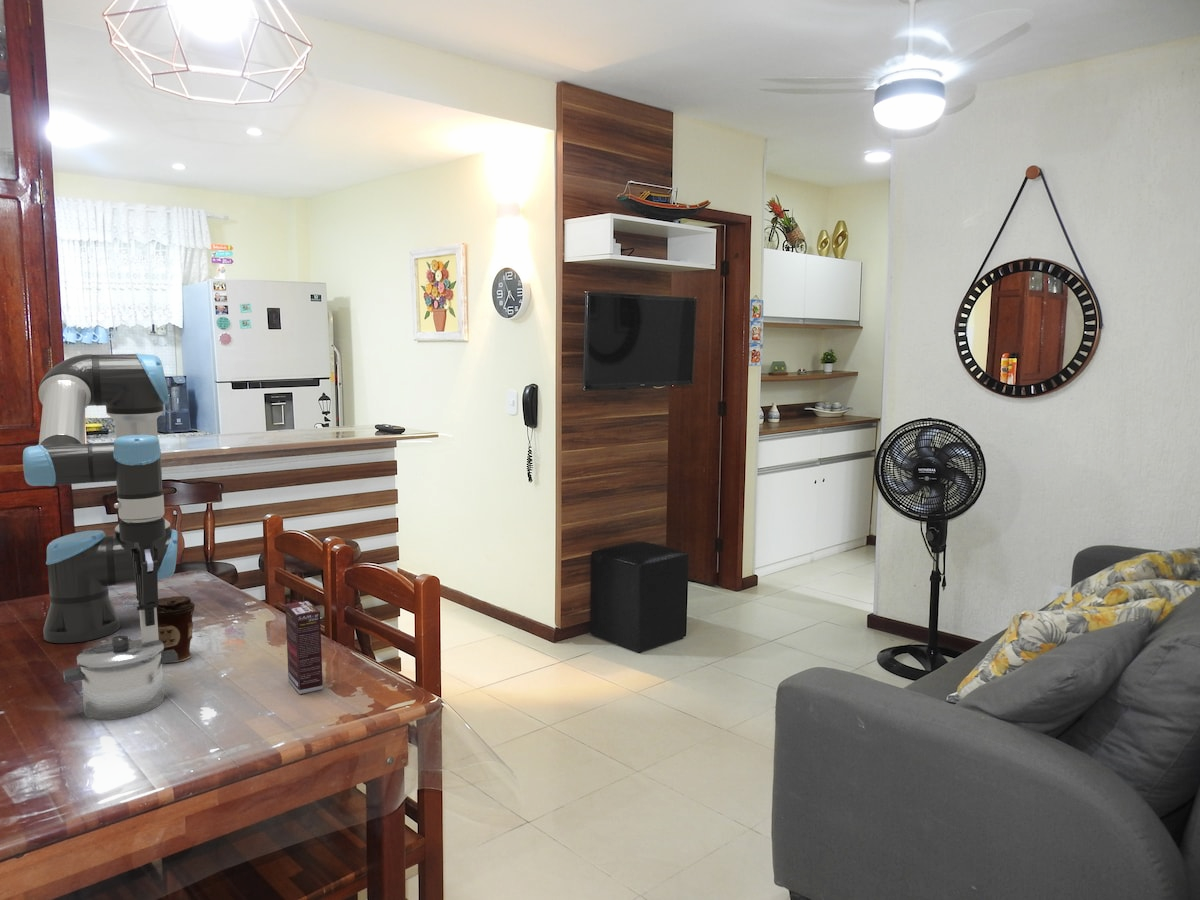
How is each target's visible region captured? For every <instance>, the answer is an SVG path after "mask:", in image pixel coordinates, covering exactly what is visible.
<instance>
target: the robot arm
mask: <svg viewBox="0 0 1200 900" xmlns="http://www.w3.org/2000/svg"><path fill="white" fill-rule="evenodd" d="M164 371H165V370H164V367H163V363H162V360H161V359H160V357H158V356H157V355H155V354H147V353H146V354H143V353H142V354H141V353H120V354H119V353H115V354H114V353H113V354H112V353H109V354H108V353H107V354H102V353H101V354H92V353H91V354H90V353H89V354H85V353H84V354H79V355H75V356H73V357H69V358H67V359H64V360H62V361H61V362H59V363H57V364H55V366H53V367H51V369H49V370H48V372H47V373H45V374H44V376H43V378H42V379H41V381H40V383H39V387H38V394H37V395H38V400H39V403H40V404H41V405H42V410H41V411H42V412H41V419H40V420H41V421H40V430H39V431H40V432H39V440H38V444H37V445H30V446H27V447H25V448H24V449H23V453H22V466H23V475H24V476H23V477H24V480H25V483H26V484H27V485H29V486H31V487H42V486H44V487H46V486H47V487H54V486H63V485H76V484H77V485H78V484H90V483H91V484H92V483H93V484H94V483H107V482H108V483H109V482H115V483H116V491H117V493H116V496H117V501H118V502H116V503H114V504H113V507H114V508H115V509H118V510H117V512H118V518H119V519H121V520H120V521H119V522H118V524H117V525H116V526H115V527H114V532H115V535H107V536H106V533H105V531H104V530H101V529H95V530H93V529H92V530H83V531H80V532H79V531H77V532H74V533H69V534H65V535H63V536H60V537H57V538H56V539H53V540H51V541H50V542H49V543H48V545H47V547H46V562H45V565H47V577H48V589H49V590H48V591H49V601H50V602H49V608H48V612H47V614H46V619H45V622H44V626H43V632H42V633H43V640H45V641H46V642H49V643H52V644H53V643H54V644H55V643H56V644H72V643H80V642H81V643H82V642H87V641H93V640H96V639H100V638H104V637H106V636H109V635H111V634H114V633H115V632H117V631H119V629H120V627H121V625H120V617H119V615H118V612H117V611H116V610H117V609H115V606H114V604H113V602H112V600H111V598H110V593H109V591H110V590H109V586H110V587H111V586H119V585H125V584H135V589H136V590H135V591H136V601H137V604H138V605H137V606H136V610H137V611H139V612H138V613H139V624H140V639H141V641H142V643H145V642H150V641H156V640H159V637H158V622H157V607H158V604H159V602H158V599H159V588H158V587H159V581H158V580H164V579H169V578H171V577H172V576H173V575H174V573H175V571H176V565H177V556H178V541H179V540H178V539H179V536H178V534H179V533H178V530H176V529H173V528H172V529H171V522H169V521H168V520H167V519H165V518H164V517H163V516H164V515H165V513H166V512H165V498H164V497H165V496H164V492H163V479H162V478H163V475H162V474H163V473H162V451H161V450H162V449H161V446H160V445H161V444H160V440H159V437H158V434H159V433H158V421H157V420H158V417H160V416H161V415H162V414H163V413H164V405H165V406H166V405H168V404H169V403H170V396H169V390H168V385H167V379H166V377H165V372H164ZM89 406H91V407H92V406H96V407H99V406H101V407H105V410H106V415H108V416H109V418H111V419H113V421H114V430H115V439H114V441H113V442H98V443H96V442H95V443H94V442H91V443H86V442H85V440H86V439H85V438H86V409H87V407H89Z"/></svg>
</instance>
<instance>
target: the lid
mask: <svg viewBox="0 0 1200 900" xmlns="http://www.w3.org/2000/svg"><path fill="white" fill-rule="evenodd" d="M163 650H164V644H163V642H162V641H159V640H156V641H150V642H145V643H142V641H141V638H140V639H139V638H138V639H131V638H129V636H128V635H118V636H114V637H112V638H111V641H108V642H103V643H100V644H99V645H98V646H94V647H92V648H89V649H86V650H84V651H82V652H80V653H79V654H78V655H77V656H76V665H77V666H78V667H84V668H109V667H117V666H123V665H128V664H133V663H137V662H141V661H144V660H147V659H150V658H153V657H155V656H157V655H159V654H160V653H162V652H163Z"/></svg>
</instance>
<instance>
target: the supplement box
mask: <svg viewBox="0 0 1200 900" xmlns="http://www.w3.org/2000/svg"><path fill="white" fill-rule="evenodd" d="M285 624H286V625H285V626H286V628H285V629H286V648H287V649H286V651H287V653H286V654H287V655H286V656H287V677H288V682H289V683H290V685H292V687H293V688H294V689H295V691H296V692H297V693H298V694H299V695H301V694H302V695H303V694H307V693H313V692H318V691H321V690H323V689H324V685H323V683H324V682H323V659H322V658H323V657H322V655H323V654H322V630H321V629H322V628H321V625H322V624H321V611H320V610H319V609H318V608H317V607H316V606H315V605H314V604H313V603H311V602H310V601H309V600H303V601H302V600H301V601H297V602H292V603H291V602H290V603H286V604H285Z"/></svg>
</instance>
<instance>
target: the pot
mask: <svg viewBox="0 0 1200 900" xmlns="http://www.w3.org/2000/svg"><path fill="white" fill-rule="evenodd" d="M173 661H178V654H177V653H176V651H175V650H174V649H172V650H166V651H163V652H162V653H160V654H159V655H157V656H155V657H153V658H150V659H147V660H144V661H141V662H137V663H133V664H128V665H123V666H117V667H109V668H84V667H80V666H78V667H75V668H74V667H73V668H71V669H65V670H64V669H63V670H62V672H63V680H64V683H65V684H68V683H73V682H79V681H81V687H82V688H81V689H82V701H83V712H84V716H86V717H87V718H90V719H92V720H99V721H100V720H101V721H107V720H108V721H109V720H111V721H112V720H119V719H126V718H131V717H134V716H139V715H142V714H145V713H147V712H149V711H151V710H153V709H155V708H158V706H160V705H161V704H162V703H163V702H164V699H165V693H164V691H165V690H164V680H163V679H164V678H163V664H169V663H168V662H170V663H174V662H173Z"/></svg>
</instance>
